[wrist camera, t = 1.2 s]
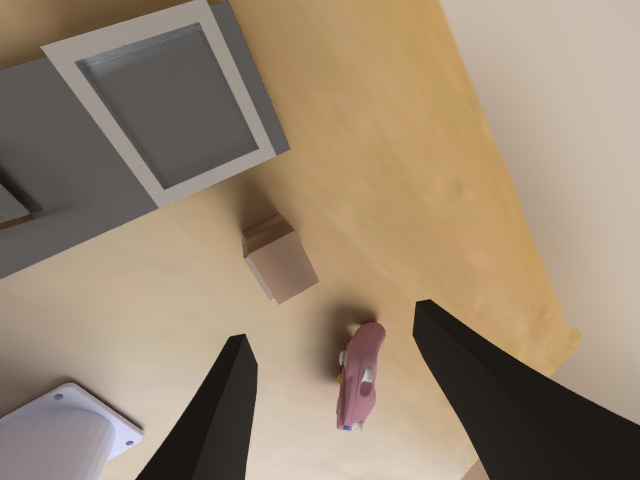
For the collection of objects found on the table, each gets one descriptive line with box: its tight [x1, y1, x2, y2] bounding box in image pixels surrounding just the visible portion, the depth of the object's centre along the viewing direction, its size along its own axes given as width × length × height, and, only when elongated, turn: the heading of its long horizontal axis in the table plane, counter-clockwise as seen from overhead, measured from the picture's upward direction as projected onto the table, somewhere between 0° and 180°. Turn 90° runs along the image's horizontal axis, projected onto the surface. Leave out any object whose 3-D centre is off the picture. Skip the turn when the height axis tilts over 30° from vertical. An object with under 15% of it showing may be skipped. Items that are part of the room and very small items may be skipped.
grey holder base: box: [0, 0, 290, 279], centre depth 11 cm, size 20×8×6 cm, turn 113°
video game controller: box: [336, 322, 386, 431], centre depth 23 cm, size 10×5×7 cm, turn 174°
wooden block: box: [242, 214, 319, 304], centre depth 16 cm, size 3×4×5 cm
